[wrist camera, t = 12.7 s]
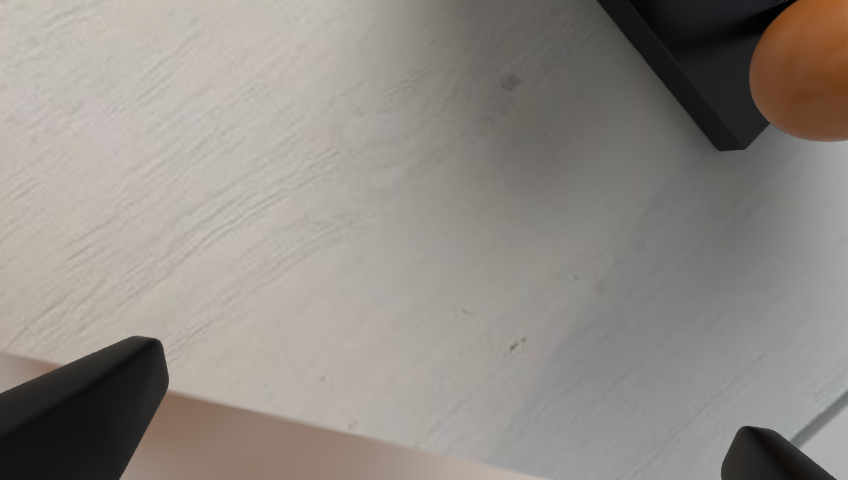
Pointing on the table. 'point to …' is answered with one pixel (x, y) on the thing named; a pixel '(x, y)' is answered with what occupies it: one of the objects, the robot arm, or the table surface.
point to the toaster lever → (804, 71)
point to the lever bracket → (703, 57)
